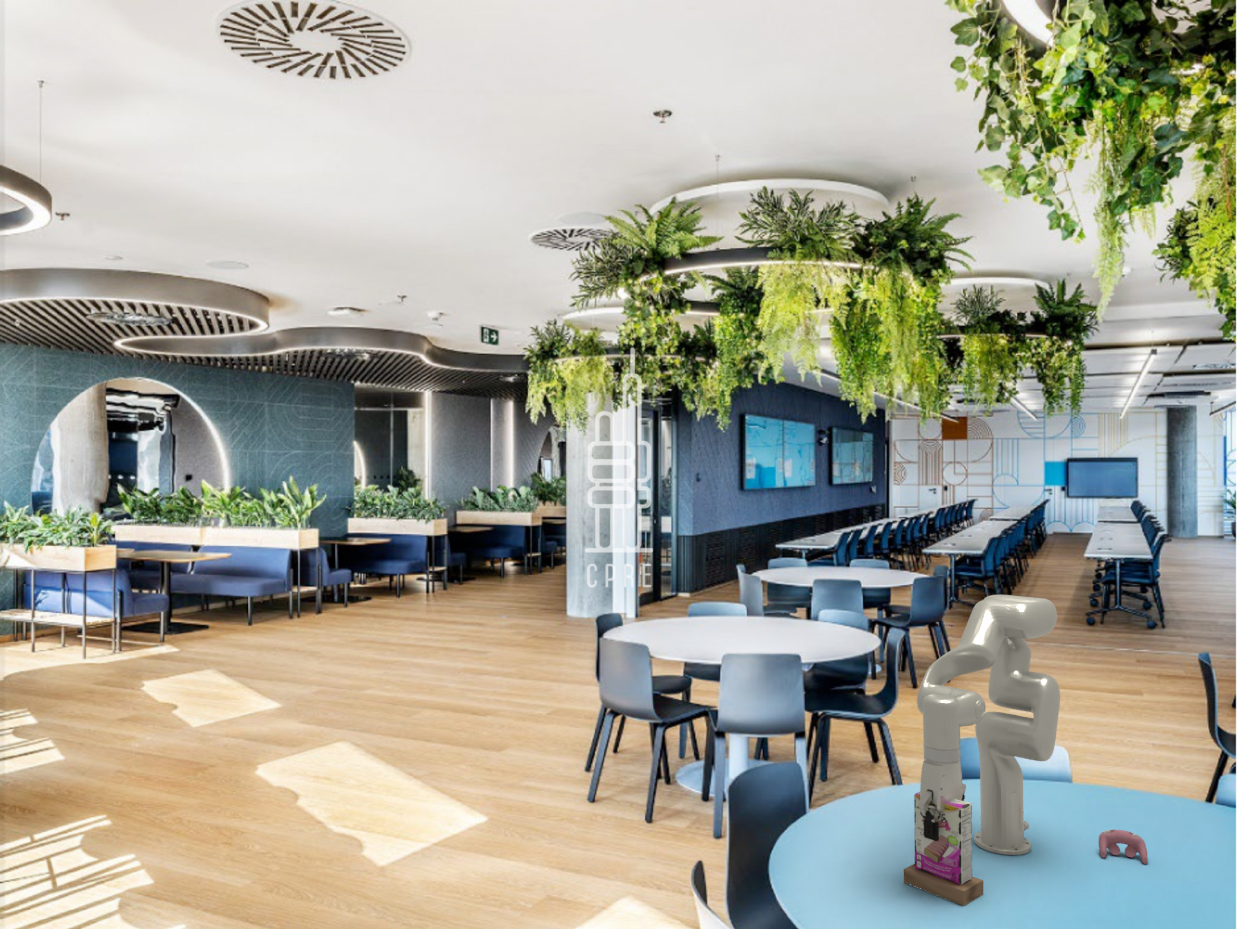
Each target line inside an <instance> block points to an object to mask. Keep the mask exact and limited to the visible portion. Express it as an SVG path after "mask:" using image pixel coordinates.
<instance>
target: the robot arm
mask: <svg viewBox="0 0 1237 929" xmlns="http://www.w3.org/2000/svg"><path fill="white" fill-rule="evenodd" d="M1057 621H1058V611H1057V608H1056V606H1055V604H1054V603H1053V602H1052V601H1051V600H1049V599H1047V598H1043V597H1032V596H1023V595H1022V596H1020V595H1011V594H1010V595H1009V594H992V595H988V596H986V597H984V599H981V600H980V601H978V602H977V603H976V604H975V605H974V607H973V608H972V611H971V613H970V615H969V618H968V621H967V623H966V625H965V627H964V628H965V629H964V631H963V632H962V636H961V637H960V640H959V643H958V645H957V646H956V647H954V648H953V649H951V650H950V651H948V652H946V653H945V654H943V655H941V657H939V658H938V659H937V660H935V661H934V662H932V663H931V665H930V666H929V667H928V668H927V670H926V672H925V674H924V677H923V679H922V680H921V684H920V686H919V690H918V692H917V695H916V696H917V698H916V704H917V705H916V706H917V709H918V711H919V712H920V714H921V715H922V724H923V725H922V727H923V728H922V729H923V730H922V731H923V734H922V735H923V736H922V737H923V760H922V761H923V762H922V766H921V774H920V787H919V788H920V790H919V792H920V802H919V804H918V806H919V809H920V814H921V815H922V819H924V837H925V838H928V839H931V840H934V841H938V840H939V822H936V821H937V818H938V815H939V812H940V811H943V810H945V805H946V804H947V803H948V802H950V801H953V800H955V799H959V800H962V801H965V799H966V798H965V797H966V795H965V794H966V790H967V785H966V784H965V783H964V782H963V773H962V772H963V771H962V766H961V763H962V762H961V760H962V759H961V757H962V756H961V727H968V726H969V727H971V726H974V725H975V737H976V741H977V742H976V743H977V748H978V754H979V770H980V771H979V776H980V777H979V782H980V786H979V787H980V788H979V790H980V792H979V793H980V794H979V795H980V831H978V832H976V833H975V834H974V835H973V842H974V844H975V845H977V846H978V847H979V848H981V849H983V850H985V851H988V852H990V853H994V854H999V855H1005V856H1022V855H1025V854H1028V853H1029V852H1030V851H1031V850H1032V845H1031V844H1032V843H1031V842H1030V841H1029V839H1027V838H1025V837H1024V836H1025V835H1024V834H1025V831H1026V830H1028V829H1029V828H1030V824H1029V823H1028V821H1025V820H1024V774H1023V771H1022V768H1021V765H1020V764H1019V762H1018V760H1017V759H1016V758H1020V759H1021V758H1022V759H1026V760H1030V761H1036V762H1047V761H1049V760H1050V759H1051V757H1053V753H1054V751H1055V745H1056V739H1057V738H1056V737H1057V730H1058V723H1059V722H1058V721H1059V712H1060V704H1061V693H1060V692H1061V691H1060V687H1059V683H1058V681H1057V680H1056V679H1055V677H1053V676H1052V675H1049V674H1046V673H1041V672H1034V671H1030V666H1031V657H1032V652H1031V648H1030V646H1029V645H1028V643H1027V641H1026V640H1033V639H1037V638H1040V637H1043V636H1045V635H1048V634H1050V633H1051V632H1053V630H1054V629H1055V628H1056V625H1057ZM989 668H990V672H989V680H988V699H989V701H991V703H992V704H994V706H995V705H996V706H998V707H1001V708H1004V709H1005V708H1007V709H1010V710H1014V711H1015V710H1016V711H1021V712H1026V713H1032V714H1033V718H1032V717H1029V716H1022V715H1018V714H1012V713H1006V712H1000V711H987V712H986V702H985V699H984V697H982V695H981V694H979V693H978V692H976V691H973V690H970V689H969V690H968V689H964V688H957V687H953V686H948V685H947V686H946V685H945V684H947V683H948V682H950V681H951V680H952V679H954V678H956V677H957V678H958V677H960V676H962V675H966V674H971V673H975V672H979V671H983V670H985V669H989ZM931 803H932V804H933V805H936V806H937V807H935V806H931ZM930 810H933V811H934V813H933V815H932V814H931V813H930Z"/></svg>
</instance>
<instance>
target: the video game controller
mask: <svg viewBox="0 0 1237 929" xmlns="http://www.w3.org/2000/svg"><path fill="white" fill-rule="evenodd" d="M1118 844H1122V845H1126V847H1125V849H1124V854H1125V856H1126V857H1127V858H1129V857H1130V859H1132V858H1135V856H1136V854H1137V853H1138V855H1139V857H1140V860H1141V862H1142V864H1143V863H1144V865H1146V864H1148V858H1149V857H1148V849H1147V846H1146V842H1145V840H1144V839H1143V838H1142V837H1141V836H1140V835H1139V834H1136V833H1134V832H1131V831H1128V830H1124V829H1123V830H1122V829H1110V830H1108V829H1107V830H1104V831H1102V832H1101V833H1100V834H1099V836H1098V850H1099V854H1100V857H1101V858H1102V859H1105V858H1106V857H1107V850H1108V851H1109V853H1110V854H1111V855H1113V856H1119V855H1120V853H1121V848H1120V847H1119V845H1118Z"/></svg>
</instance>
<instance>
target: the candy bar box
mask: <svg viewBox="0 0 1237 929" xmlns="http://www.w3.org/2000/svg"><path fill="white" fill-rule="evenodd" d="M913 798H914V800H913V801H914V864H915V868H917V869H919V870H922V871H925V872H927V873H930V874H932V875H935V876H938V877H940V878H943V879H946V880H949V881H951V882H954V883H956V884H959V885H963V884H964V883H966V882H968V881H970V880H971V879H972V876H973V826H972V825H973V822H972V820H973V809H972V808H973V804H972V802H969V801H966V800H964V801H962V800H959V799H955V800H953V801H950V802H948V803H947V804H946V805H945V810H943V811H940V812H939V815H938V818H937V821H936V822H939V840H938V841H934V840H931V839H928V838H925V837H924V819H922V815H921V814H920V809H919V806H918V804H919V802H920V791H918V792H915V793H914V795H913ZM931 806H935V807H937V806H936V805H933V804H932V803H931ZM930 813H931V814H932V815H933V813H934V811H933V810H930Z"/></svg>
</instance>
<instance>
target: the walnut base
mask: <svg viewBox="0 0 1237 929" xmlns="http://www.w3.org/2000/svg"><path fill="white" fill-rule="evenodd" d="M903 883H904V884H905V883H907V884H906V885H908V884H911V885H912V886H911V885H910V886H911V887H913V886H916V887H918V888H921V889H922V890H921V889H920V890H921V891H924V890H926V891H927V893H929V892H930V893H929V894H931V893H932V894H931V895H934V896H936V895H937V897H938V898H939V897H940V898H942V899H944V900H947V901H949V902H950V901H951V902H952V903H955V904H957V905H960V906H962V907H964V906H967V905H968V904H970V903H971V902H973V901H975V900H977V899H978V898H981V896H983V895H984V879H981V878H977V877H976V876H973V875H972V879H971V880H970V881H968V882H966V883H964V884H963V885H959V884H956V883H954V882H951V881H949V880H946V879H943V878H940V877H938V876H935V875H932V874H930V873H927V872H925V871H922V870H919V869H917V868H915V863H913V864H910V865H909V866H907V867H905V868H903ZM916 887H915V888H916ZM918 888H917V889H918ZM926 891H925V892H926Z"/></svg>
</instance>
